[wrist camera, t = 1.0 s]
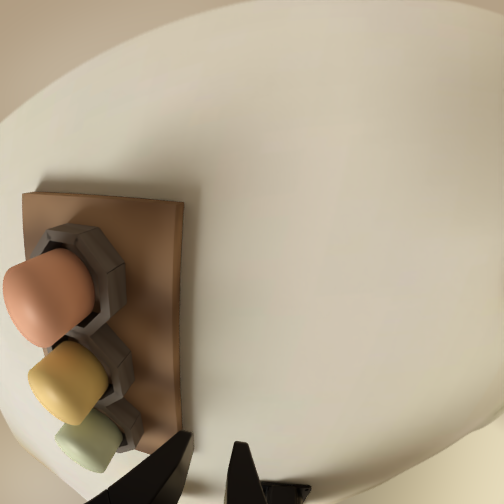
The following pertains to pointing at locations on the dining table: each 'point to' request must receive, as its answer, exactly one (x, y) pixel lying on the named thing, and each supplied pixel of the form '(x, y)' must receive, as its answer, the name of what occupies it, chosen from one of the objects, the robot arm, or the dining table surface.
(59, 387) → the button ochre
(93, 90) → the dining table surface
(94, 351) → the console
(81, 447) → the button sage
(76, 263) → the button terracotta
